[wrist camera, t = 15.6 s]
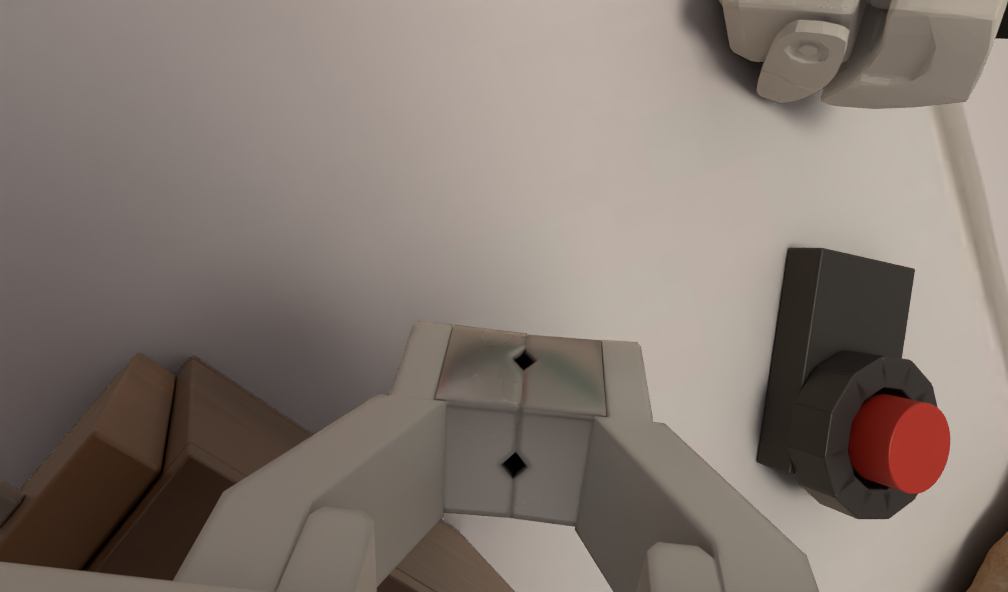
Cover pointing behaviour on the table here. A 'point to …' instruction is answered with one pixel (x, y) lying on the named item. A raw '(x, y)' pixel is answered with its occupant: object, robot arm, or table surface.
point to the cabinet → (229, 459)
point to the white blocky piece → (867, 48)
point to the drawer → (92, 474)
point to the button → (899, 443)
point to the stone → (993, 569)
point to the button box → (837, 373)
